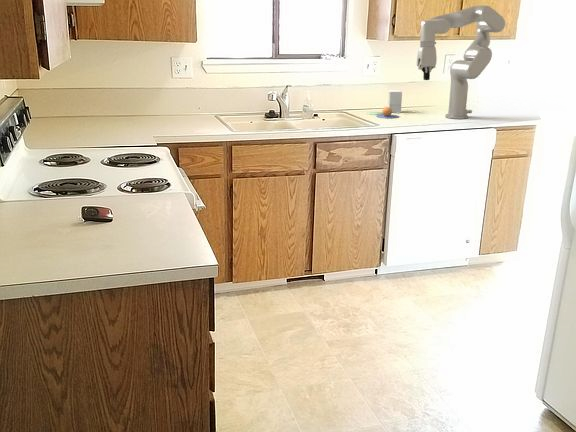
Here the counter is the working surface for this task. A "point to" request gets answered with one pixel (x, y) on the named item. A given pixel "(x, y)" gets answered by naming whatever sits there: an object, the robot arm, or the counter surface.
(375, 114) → the green far disc
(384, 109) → the ball
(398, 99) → the supplement box
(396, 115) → the navy disc
